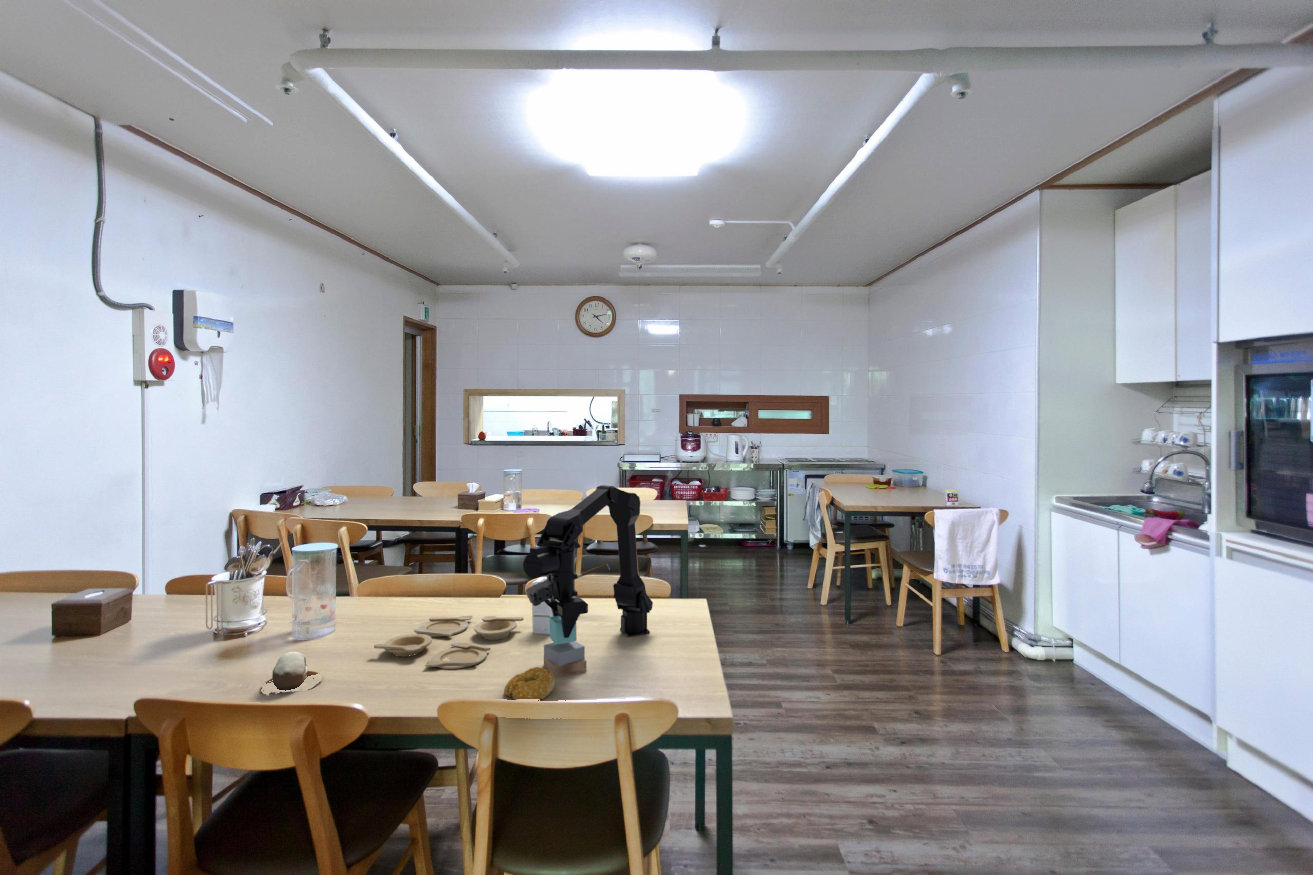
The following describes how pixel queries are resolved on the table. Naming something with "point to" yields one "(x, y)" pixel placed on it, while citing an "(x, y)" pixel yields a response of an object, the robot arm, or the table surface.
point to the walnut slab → (565, 667)
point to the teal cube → (560, 631)
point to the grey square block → (564, 652)
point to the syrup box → (541, 614)
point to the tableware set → (462, 652)
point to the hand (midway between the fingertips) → (562, 634)
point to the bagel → (530, 684)
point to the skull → (290, 671)
